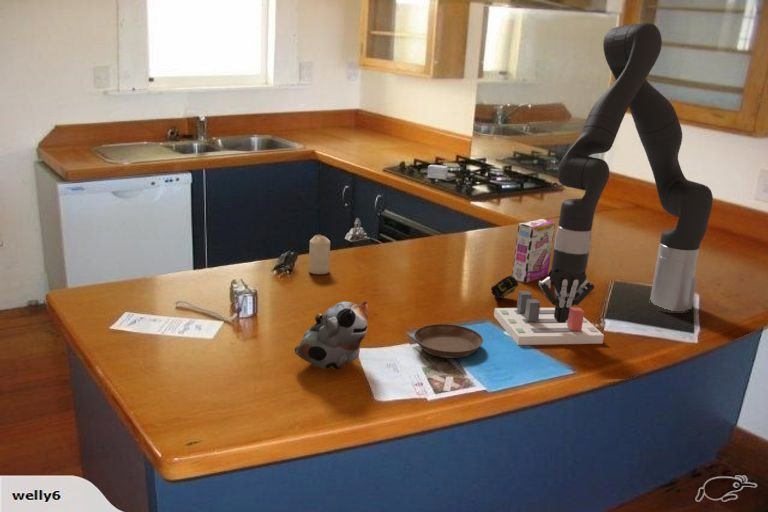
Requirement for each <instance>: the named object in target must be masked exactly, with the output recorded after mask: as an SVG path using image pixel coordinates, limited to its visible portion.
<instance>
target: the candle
mask: <svg viewBox="0 0 768 512" xmlns="http://www.w3.org/2000/svg"><path fill="white" fill-rule="evenodd" d="M308 253H309V254H308V255H309V256H308V259H309V260H308V272H309V273H311V274H313V275H325V274H328V273H329V272H330V261H331V260H330V259H331V258H330V257H331V255H330V254H331V240H329V239H328V238H327V237H326V236H325V235H321V234H315V235H314V236H313V237H312V238H311V239H310V240H309V252H308Z"/></svg>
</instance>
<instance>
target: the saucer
mask: <svg viewBox="0 0 768 512" xmlns="http://www.w3.org/2000/svg"><path fill="white" fill-rule="evenodd" d="M413 337H414V340H415V342H416V343H417V344H418V345H419V347H420V348H421V349H422V350H423V351H425V352H426V353H427V354H430V355H432V356H435V357H439V358H444V359H461V358H465V357H468V356H469V355H471V354H473V353H475V352H476V351H477V350H478V349H480V347H481V346H482V345H483V343H484V338H483V336H482V335H481V334H480V333H479V332H477V331H475V330H474V329H472V328H469V327H466V326H463V325H457V324H449V323H448V324H447V323H446V324H445V323H438V324H437V323H435V324H428V325H424V326H421V327H419V328H418V329H416V330H415V332H414V334H413Z"/></svg>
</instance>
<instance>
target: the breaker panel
mask: <svg viewBox="0 0 768 512" xmlns="http://www.w3.org/2000/svg"><path fill="white" fill-rule="evenodd" d="M517 294H518V295H517V302H516V307H495V308H494V311H493V317H494V318H495V319H496V320H497V321H498V323H499V324H500V325H501V327H502V328H503V330H504V331H506V332H507V334H508V335H509V337H510V338H511V339H513V341H514V343H516V345H518V346H526V345H527V346H529V345H530V346H533V345H534V346H536V345H537V346H539V345H585V344H586V345H589V344H591V345H592V344H594V345H595V344H596V345H597V344H598V345H599V344H604V337H605V335H604V334H603V333H602V332H601V331H600V330H599V329H598V328H596V327H595V325H593V324H592V322H590V321H589V320H588V319H586V318H585V316H583V323H582V330H570V329H569V328H568V327H567V323H568V320H567V321H566V322H565V323H558V322H557V321H556V319H555V318H554V313H555V307H541V302H540V300H538V299H537V298H536V299H535V298H534V299H533V298H532V296H533V294H532V293H531V292H530V291H529V290H519V291H518V293H517Z"/></svg>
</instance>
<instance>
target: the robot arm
mask: <svg viewBox="0 0 768 512" xmlns="http://www.w3.org/2000/svg"><path fill="white" fill-rule="evenodd" d="M662 40H663V39H662V34H661V31H660V29H659V28H658V27H657V26H656V25H655V24H653V23H652V22H651V23H650V22H640V23H639V22H638V23H632V24H627V25H626V24H625V25H621V26H616V27H613V28H611V29H609V30H608V31H607V32H606V33H605V35H604V38H603V45H602V46H603V53H604V58H605V61H606V64H607V65H608V67H609V70H610V71H611V73H612V75H613V77H614V79H615V81H614V82H613V83H612V84H611V86H610V87H609V88H607V90H606V91H605V92H604V93H603V94H602V95H601V96H600V97H599V98H598V99H597V101H596V102H595V103H594V104H593V106H592V108H591V109H590V111H589V113H588V116H587V118H586V120H585V123H584V126H583V128H582V130H581V133H580V134H579V136H578V137H577V139H576V140H575V141H574V142H573V144H572V145H571V147H570V148H569V149H568V150H567V152H565V154H564V155H563V157H562V158H561V160H560V161H559V164H558V167H557V172H556V173H557V181H558V182H559V183H560V184H561V185H562V186H564V187H566V188H571V189H575V190H576V189H577V190H582V191H584V195H583V196H582V197H581V198H568V199H565V200H563V201H562V202H561V203H562V204H561V207H560V212H559V218H558V219H559V220H558V226H557V230H556V233H555V237H554V244H553V249H552V251H553V252H552V259H551V263H550V264H551V268H550V270H549V271H548V275H547V277H546V278H544V279H543V280H542V279H539V280H538V281H537V285H538V287H540V288H539V289H540V290H541V291H542V294H544V296H545V297H546V299H547V301H549V303H551V304H552V305H553V306H555V307H554V308H555V313H554V318H555V319H556V321H557V322H558V323H565V322H566V321H567V320H568V317H569V311H570V308H572V307H573V306H579V304H580V303H581V302H582V301H584V299H585V298H587V296H588V295H589V294H590V293H591V292H592V291H593V290H594V289H595V285H594V284H593V283H592V282H590V281H589V280H588V279H587V274H586V270H587V268H588V267H587V266H588V261H589V255H590V249H591V241H592V229H593V223H594V216H595V211H596V209H597V206H598V203H599V200H600V198H601V196H602V194H603V191H604V189H605V187H606V186H607V183H608V182H609V179H610V178H609V177H610V167H609V164H608V163H607V161H605V160H604V159H602V158H597V157H591V156H592V155H596V154H605V153H607V152H610V150H611V149H612V147H613V144H614V143H615V140H616V137H617V135H618V133H619V130H620V128H621V124H622V122H623V120H624V117H625V116H626V114H627V111H628V109H629V112H630V115H631V117H632V120H633V122H634V126H635V129H636V132H637V135H638V137H639V140H640V143H641V144H642V147H643V150H644V152H645V155H646V157H647V160H648V162H649V165H650V168H651V172H652V175H653V178H654V182H655V187H656V192H657V195H658V200H659V202H660V205H661V207H662V209H663V210H664V211H665V212H666V213H668V214H669V215H671V216H673V217H677V218H678V220H677V223H676V225H675V228H673V229H672V228H671V229H665V230H663V231H662V233H661V236H660V241H659V246H658V253H657V256H656V257H657V258H656V263H655V267H654V268H655V270H654V275H653V281H652V285H651V286H652V287H651V292H650V298H649V301H650V300H651V302H652V303H653V304H654V305H657V306H659V307H662V308H664V309H668V310H671V311H685V310H687V309H691V310H692V308H693V302H694V296H695V293H696V292H695V291H696V287H697V282H698V278H697V277H696V276H695V272H696V269H697V268H696V267H697V262H698V257H699V251H700V246H701V244H702V243H701V242H702V241H703V239H704V237H705V236H706V232H707V229H708V224H709V221H710V216H711V213H712V209H713V201H714V199H713V197H714V196H713V193H712V190H711V189H710V187H709V186H707V185H705V184H702V183H699V182H696V181H692V180H688V179H687V178H686V177H685V174H684V173H683V170H682V167H681V165H680V162H679V153H680V150H681V146H682V142H683V129H682V126H681V122H680V119H679V118H678V115H677V112H676V110H675V108H674V106H673V104H672V103H671V102H670V101H669V100H668V98H666V97H665V95H663V94H662V93H661V92H660V91H659V90H658V89H657V88H655V87H654V86H653V85H652V83H649V81H648V80H647V77H648V75H649V74H650V73H651V70H652V69H653V67H654V66H655V64H656V62H657V60H658V58H659V56H660V54H661V50H662V44H663V41H662ZM551 285H552V287H553V288H554V294H553V293H552V291H551Z"/></svg>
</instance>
